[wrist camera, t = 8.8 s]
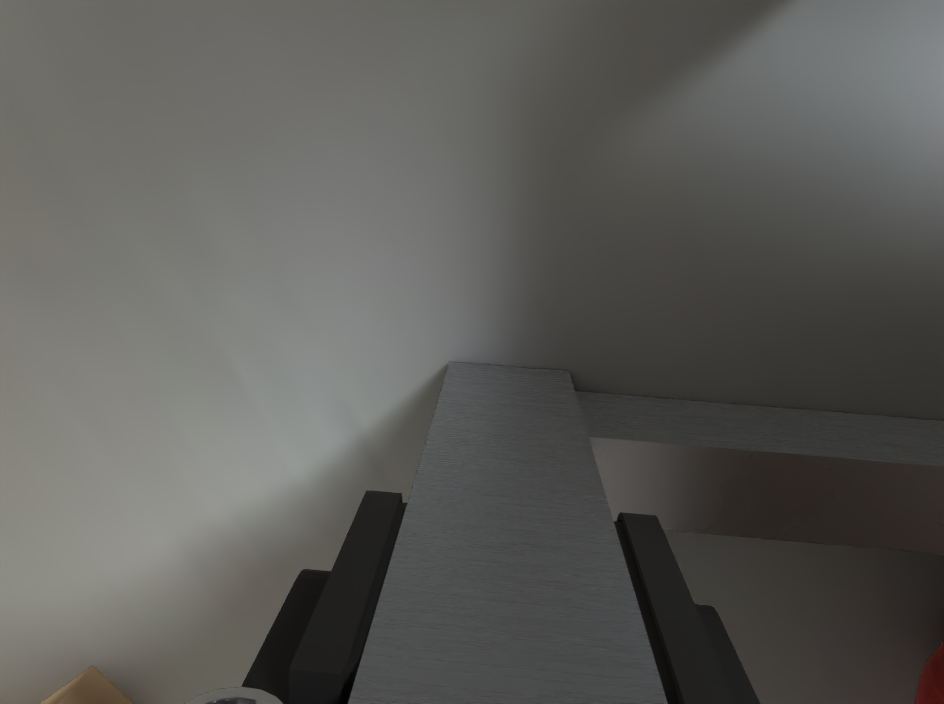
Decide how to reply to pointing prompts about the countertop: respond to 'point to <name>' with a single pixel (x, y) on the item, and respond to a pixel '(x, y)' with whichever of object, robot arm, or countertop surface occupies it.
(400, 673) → the grey angled piece
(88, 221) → the countertop surface
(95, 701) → the wooden bar
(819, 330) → the countertop surface
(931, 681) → the onion
